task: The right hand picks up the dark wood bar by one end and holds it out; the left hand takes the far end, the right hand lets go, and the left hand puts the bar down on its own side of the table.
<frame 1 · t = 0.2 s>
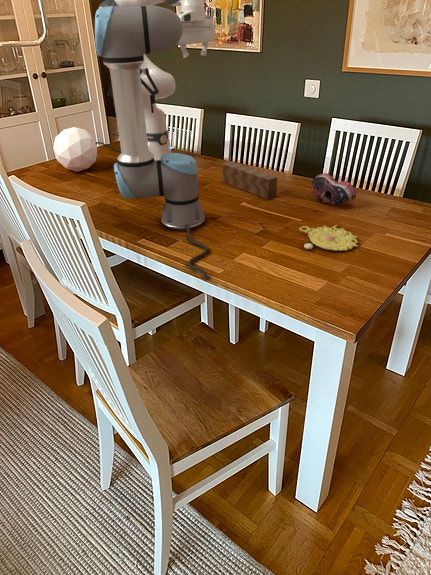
left hand: (195, 56, 176), 47 cm above the table, tool pointing down, fingers open, 8 cm apart
right hand: (135, 113, 180), 28 cm above the table, tool pointing down, fingers open, 13 cm apart
sphere: (79, 169, 210), on the table
bar: (248, 189, 182), on the table
athletic shoe: (327, 200, 169), on the table
decorative object: (328, 239, 142), on the table
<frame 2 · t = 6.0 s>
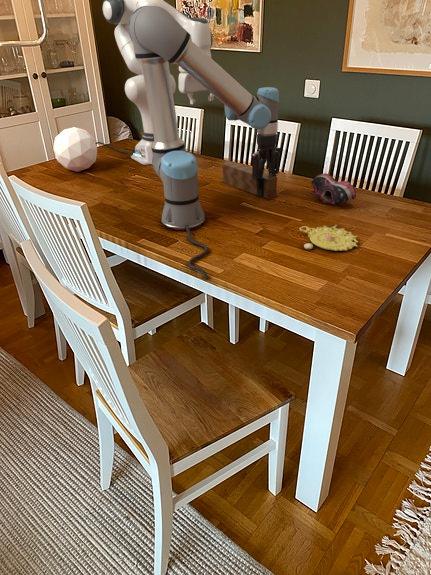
left hand: (202, 102, 183), 30 cm above the table, tool pointing down, fingers open, 8 cm apart
right hand: (264, 193, 176), 1 cm above the table, tool pointing down, fingers closed on bar, 5 cm apart
bar: (248, 189, 182), on the table, touching right hand
everything else where it was.
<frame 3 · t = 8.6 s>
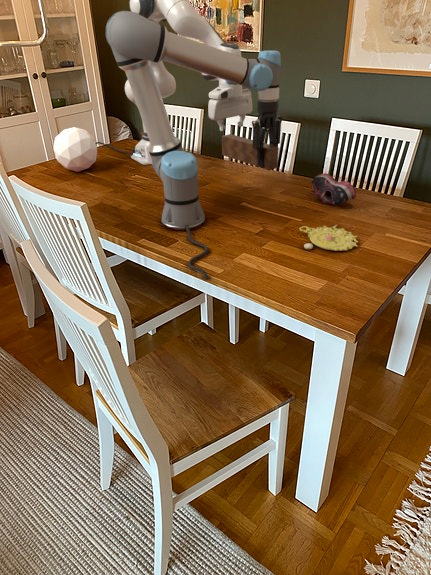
left hand: (231, 128, 177), 22 cm above the table, tool pointing down, fingers open, 8 cm apart
right hand: (265, 165, 169), 12 cm above the table, tool pointing down, fingers closed on bar, 5 cm apart
bar: (248, 161, 176), point 12 cm above the table, touching right hand
everything else where it was.
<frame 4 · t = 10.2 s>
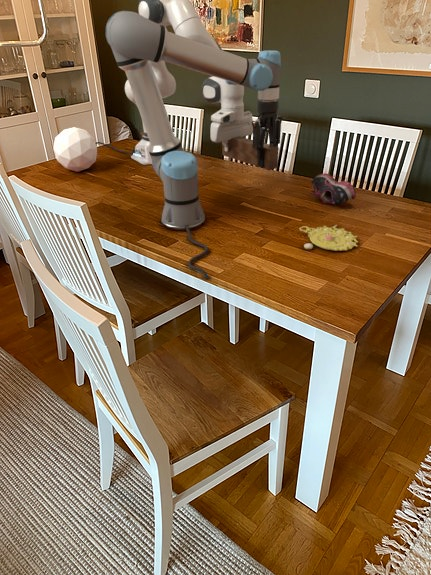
left hand: (232, 149, 181), 14 cm above the table, tool pointing down, fingers closed on bar, 4 cm apart
right hand: (265, 165, 169), 12 cm above the table, tool pointing down, fingers closed on bar, 5 cm apart
bar: (248, 161, 176), point 12 cm above the table, touching right hand, left hand
everything else where it was.
when the right hand's fingers open (12 cm above the table, at t = 11.0 s): bar stays where it is, held by the left hand.
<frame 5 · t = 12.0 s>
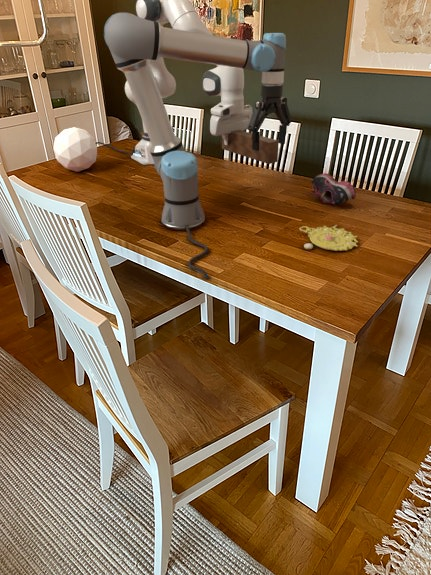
left hand: (232, 143, 180), 17 cm above the table, tool pointing down, fingers closed on bar, 4 cm apart
right hand: (268, 146, 164), 19 cm above the table, tool pointing down, fingers open, 13 cm apart
bar: (248, 155, 175), point 14 cm above the table, touching left hand
everything else where it was.
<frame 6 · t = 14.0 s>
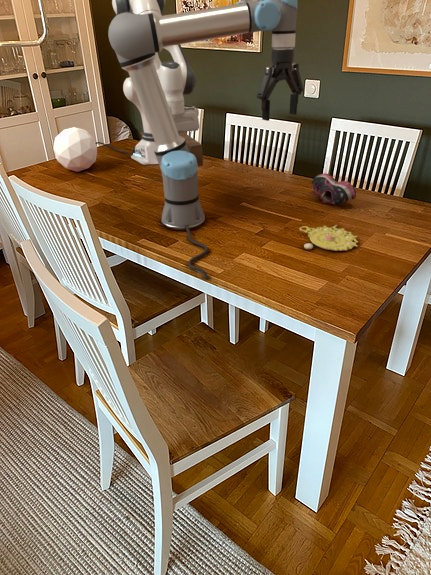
left hand: (175, 143, 182), 17 cm above the table, tool pointing down, fingers closed on bar, 5 cm apart
right hand: (279, 117, 155), 30 cm above the table, tool pointing down, fingers open, 13 cm apart
bar: (184, 156, 176), point 14 cm above the table, touching right arm, left hand
everything else where it was.
when the left hand's fingers open (4 cm above the table, at t = 18.0 s): bar stays where it is, on the table.
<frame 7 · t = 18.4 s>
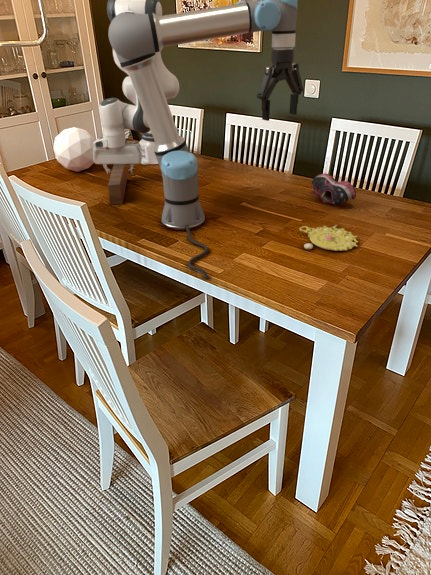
left hand: (119, 173, 191), 4 cm above the table, tool pointing down, fingers open, 8 cm apart
right hand: (279, 117, 155), 30 cm above the table, tool pointing down, fingers open, 13 cm apart
bar: (119, 191, 184), on the table
everything else where it was.
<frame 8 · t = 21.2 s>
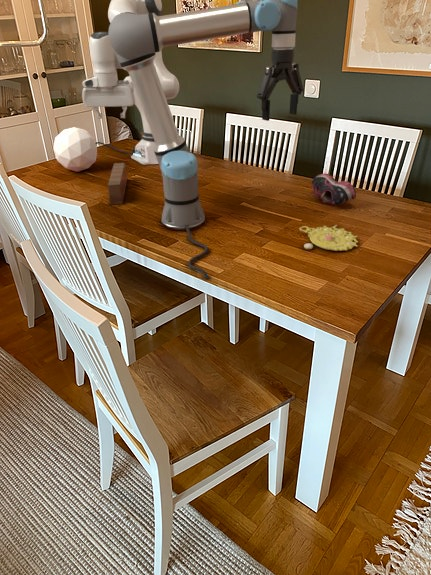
left hand: (111, 118, 178), 27 cm above the table, tool pointing down, fingers open, 8 cm apart
right hand: (279, 117, 155), 30 cm above the table, tool pointing down, fingers open, 13 cm apart
nothing on the table moved.
at the end: bar inside the target area (10.9 cm from its centre), on the table; the left hand is holding nothing; the right hand is holding nothing; bar at rest at the end (0.0 cm/s) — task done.
